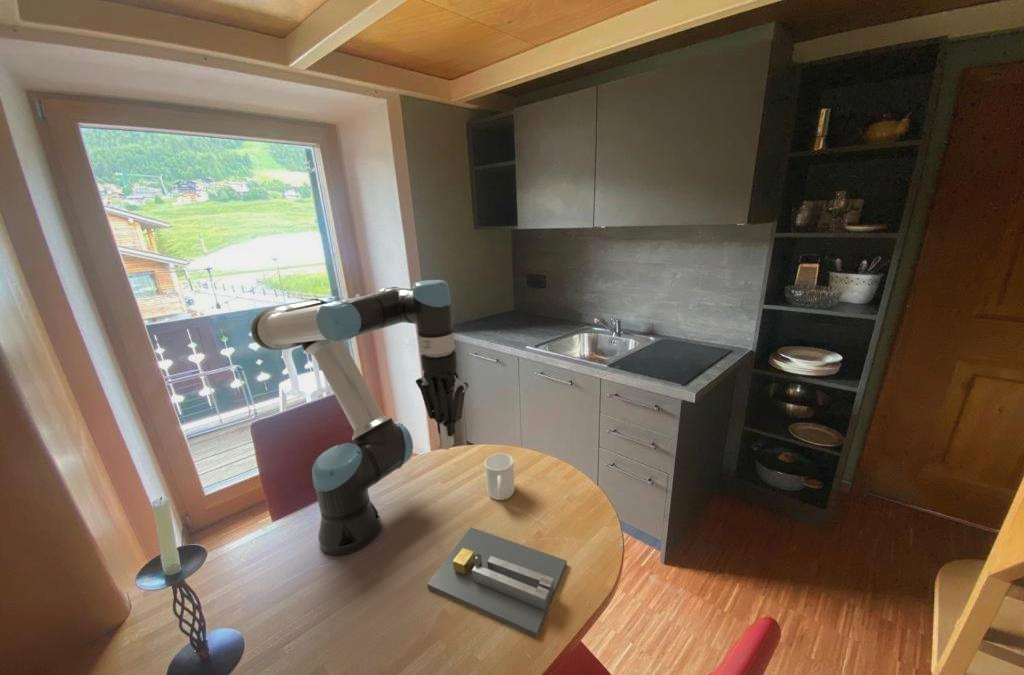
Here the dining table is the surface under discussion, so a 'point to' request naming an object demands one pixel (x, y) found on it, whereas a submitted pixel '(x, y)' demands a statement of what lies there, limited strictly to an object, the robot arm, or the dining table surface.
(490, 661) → the dining table surface
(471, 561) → the tab
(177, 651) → the dining table surface
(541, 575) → the tongs jaw
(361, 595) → the dining table surface
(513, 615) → the board
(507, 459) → the mug
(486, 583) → the tongs fixed
